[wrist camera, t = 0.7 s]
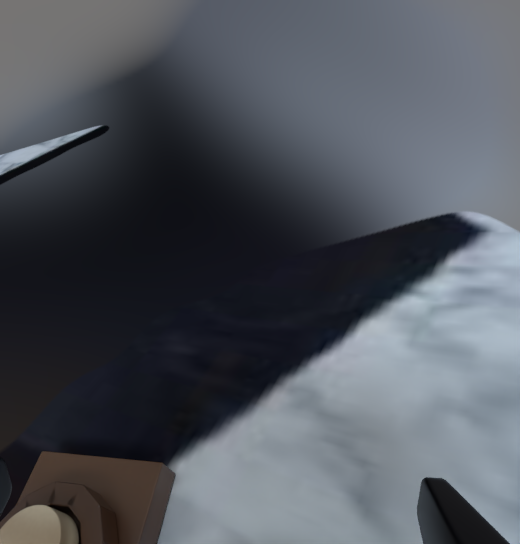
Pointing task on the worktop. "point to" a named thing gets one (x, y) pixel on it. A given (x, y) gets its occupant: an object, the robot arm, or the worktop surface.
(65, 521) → the button
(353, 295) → the worktop surface
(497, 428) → the worktop surface
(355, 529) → the worktop surface
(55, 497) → the switch block
